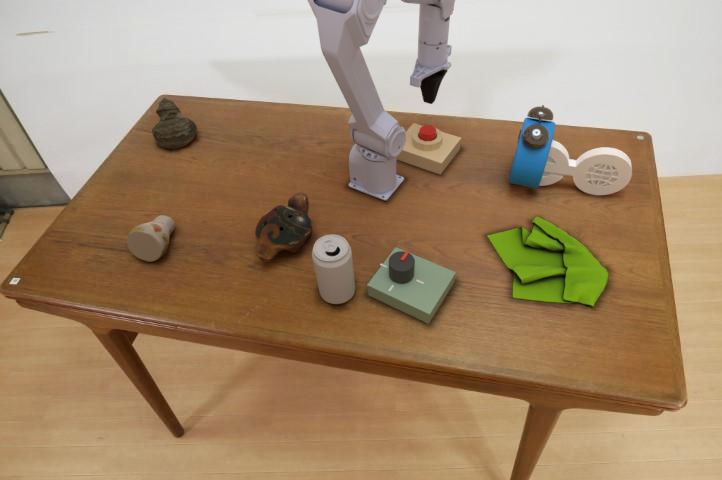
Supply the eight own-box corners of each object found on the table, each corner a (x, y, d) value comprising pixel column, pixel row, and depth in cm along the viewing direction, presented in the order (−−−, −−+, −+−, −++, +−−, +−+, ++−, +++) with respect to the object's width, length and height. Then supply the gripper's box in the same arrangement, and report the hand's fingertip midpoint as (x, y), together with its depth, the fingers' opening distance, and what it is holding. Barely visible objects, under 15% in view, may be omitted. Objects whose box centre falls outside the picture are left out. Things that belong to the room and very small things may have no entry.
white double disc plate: (620, 191, 98) (640, 151, 90) (620, 199, 97) (640, 159, 89) (510, 174, 103) (520, 135, 95) (509, 181, 102) (519, 141, 94)
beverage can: (328, 312, 83) (320, 268, 73) (314, 286, 86) (304, 241, 77) (361, 297, 84) (357, 252, 75) (346, 272, 88) (340, 226, 79)
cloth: (608, 318, 80) (613, 310, 78) (475, 290, 84) (477, 281, 82) (608, 231, 92) (612, 222, 90) (492, 210, 96) (494, 202, 95)
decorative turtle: (328, 221, 96) (324, 194, 90) (290, 280, 89) (283, 254, 82) (286, 207, 99) (279, 179, 92) (246, 262, 91) (235, 236, 85)
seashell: (203, 100, 115) (164, 96, 116) (176, 99, 104) (134, 95, 105) (204, 148, 119) (167, 144, 120) (179, 152, 108) (138, 148, 109)
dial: (406, 287, 82) (407, 273, 79) (384, 277, 83) (383, 263, 80) (418, 270, 84) (419, 255, 81) (396, 260, 85) (396, 246, 82)
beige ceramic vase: (188, 224, 98) (172, 211, 88) (171, 270, 96) (153, 261, 86) (152, 214, 97) (132, 199, 88) (134, 259, 96) (113, 249, 86)
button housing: (392, 158, 108) (392, 139, 104) (413, 134, 113) (413, 115, 109) (440, 175, 104) (442, 156, 100) (460, 149, 109) (462, 130, 105)
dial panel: (366, 294, 85) (365, 283, 82) (394, 256, 90) (394, 245, 88) (428, 324, 80) (429, 313, 78) (454, 282, 86) (456, 271, 83)
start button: (416, 138, 105) (416, 131, 103) (423, 129, 107) (424, 123, 105) (431, 143, 103) (431, 136, 102) (438, 134, 105) (439, 127, 104)
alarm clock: (534, 202, 97) (553, 140, 85) (503, 196, 99) (518, 134, 87) (542, 162, 105) (561, 100, 93) (514, 157, 106) (529, 96, 95)
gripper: (434, 60, 88) (430, 124, 98) (467, 26, 95) (460, 89, 106) (400, 51, 90) (400, 114, 101) (435, 19, 98) (431, 81, 108)
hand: (429, 101), depth 103 cm, fingers closed
